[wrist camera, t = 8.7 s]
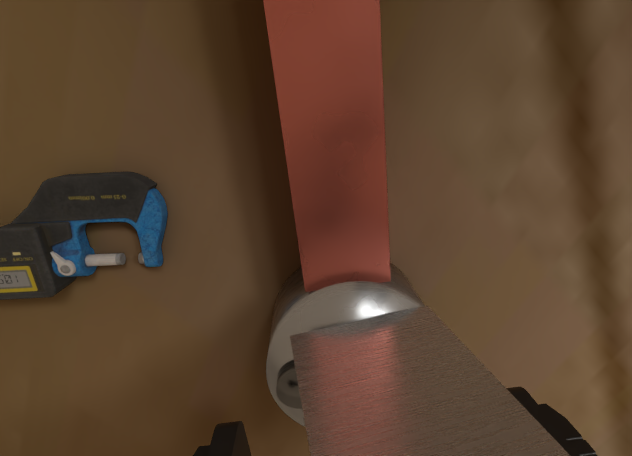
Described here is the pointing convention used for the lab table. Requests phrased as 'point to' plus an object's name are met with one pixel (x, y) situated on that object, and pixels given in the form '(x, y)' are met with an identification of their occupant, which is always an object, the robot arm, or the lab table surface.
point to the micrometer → (77, 231)
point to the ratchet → (331, 176)
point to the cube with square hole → (407, 393)
